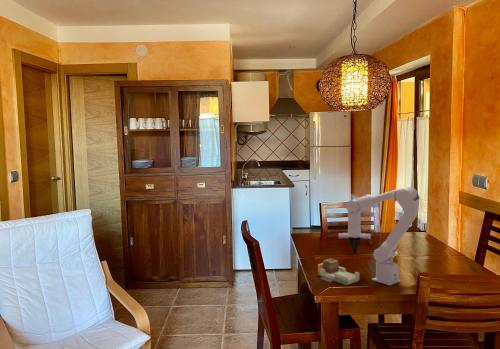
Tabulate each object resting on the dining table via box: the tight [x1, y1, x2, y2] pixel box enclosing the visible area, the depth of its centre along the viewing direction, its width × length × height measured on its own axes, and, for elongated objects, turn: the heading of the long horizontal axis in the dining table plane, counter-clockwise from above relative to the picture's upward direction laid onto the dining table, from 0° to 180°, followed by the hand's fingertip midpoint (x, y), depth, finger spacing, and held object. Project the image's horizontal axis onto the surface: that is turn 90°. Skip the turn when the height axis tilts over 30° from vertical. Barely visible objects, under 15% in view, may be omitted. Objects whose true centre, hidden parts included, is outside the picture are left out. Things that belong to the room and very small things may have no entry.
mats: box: [319, 276, 335, 283], centre depth 179 cm, size 11×15×1 cm
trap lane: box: [317, 262, 361, 286], centre depth 179 cm, size 17×9×5 cm, turn 36°
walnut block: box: [322, 258, 340, 274], centre depth 183 cm, size 5×5×5 cm
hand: (354, 253), depth 184 cm, fingers closed
